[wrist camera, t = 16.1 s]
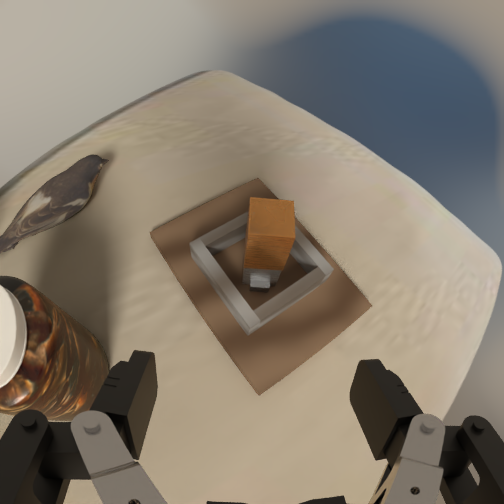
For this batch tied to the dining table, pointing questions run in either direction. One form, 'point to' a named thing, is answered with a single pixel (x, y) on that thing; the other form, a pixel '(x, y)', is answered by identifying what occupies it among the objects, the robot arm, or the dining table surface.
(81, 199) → the decorative bird
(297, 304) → the socket board
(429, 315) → the dining table surface
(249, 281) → the orange rectangular block
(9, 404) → the jar
